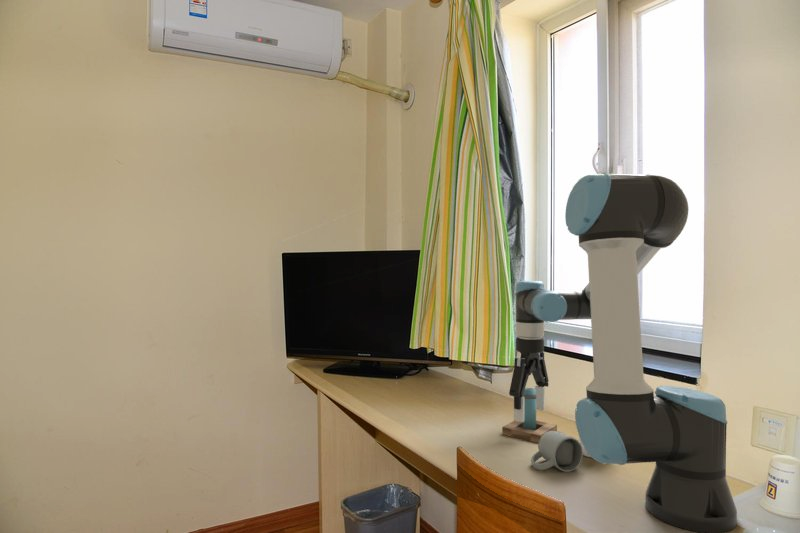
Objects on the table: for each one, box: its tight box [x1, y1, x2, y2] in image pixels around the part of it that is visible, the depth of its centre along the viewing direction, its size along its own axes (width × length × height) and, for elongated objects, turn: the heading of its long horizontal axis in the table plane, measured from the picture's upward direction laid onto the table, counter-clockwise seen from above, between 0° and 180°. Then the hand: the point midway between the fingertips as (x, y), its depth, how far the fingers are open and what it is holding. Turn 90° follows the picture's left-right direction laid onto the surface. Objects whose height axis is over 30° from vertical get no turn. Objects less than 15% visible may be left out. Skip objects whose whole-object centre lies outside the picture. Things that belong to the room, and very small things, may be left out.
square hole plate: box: [501, 419, 558, 444], centre depth 144 cm, size 11×11×2 cm
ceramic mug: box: [530, 430, 584, 473], centre depth 121 cm, size 11×8×8 cm
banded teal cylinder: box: [522, 387, 537, 431], centre depth 144 cm, size 4×4×12 cm
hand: (529, 414), depth 144 cm, fingers open, 12 cm apart
